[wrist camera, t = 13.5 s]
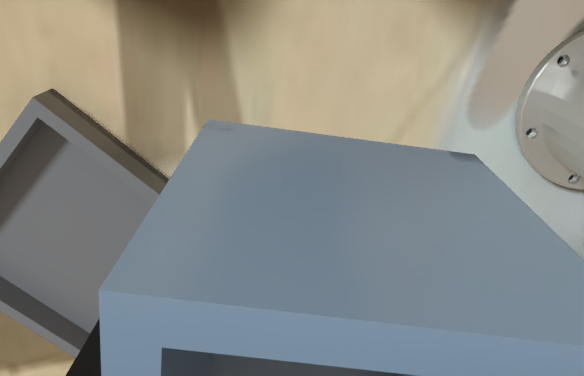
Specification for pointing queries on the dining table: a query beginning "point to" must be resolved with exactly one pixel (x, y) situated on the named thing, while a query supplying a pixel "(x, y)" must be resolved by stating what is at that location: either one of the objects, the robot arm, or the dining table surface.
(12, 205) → the tray
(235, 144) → the blue open box
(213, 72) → the dining table surface
